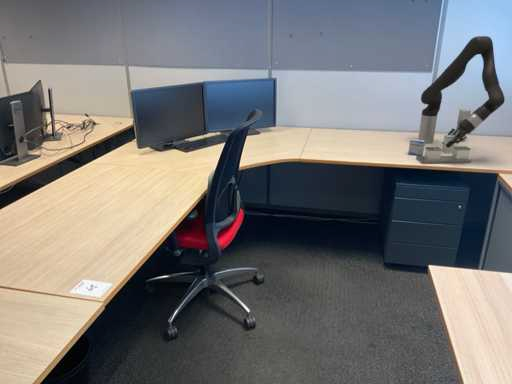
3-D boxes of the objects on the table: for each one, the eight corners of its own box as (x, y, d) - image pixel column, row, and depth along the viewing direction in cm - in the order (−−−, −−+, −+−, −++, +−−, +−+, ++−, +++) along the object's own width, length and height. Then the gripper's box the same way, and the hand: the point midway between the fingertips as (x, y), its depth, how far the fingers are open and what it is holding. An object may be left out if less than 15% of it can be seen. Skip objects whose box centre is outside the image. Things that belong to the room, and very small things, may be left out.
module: (441, 151, 238) (444, 135, 235) (449, 151, 238) (452, 135, 235) (445, 153, 234) (447, 137, 231) (453, 153, 234) (456, 136, 231)
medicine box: (407, 154, 250) (409, 140, 246) (409, 152, 253) (411, 138, 250) (422, 156, 246) (424, 141, 243) (423, 154, 250) (425, 139, 247)
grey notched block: (416, 158, 242) (417, 146, 239) (462, 158, 243) (465, 145, 240) (422, 163, 234) (424, 150, 231) (470, 163, 234) (473, 149, 232)
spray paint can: (464, 139, 279) (469, 108, 272) (466, 142, 273) (471, 110, 266) (453, 138, 281) (458, 108, 273) (455, 141, 275) (460, 110, 267)
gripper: (460, 115, 236) (435, 137, 240) (473, 121, 223) (446, 144, 227) (467, 125, 238) (443, 146, 242) (481, 131, 225) (454, 153, 229)
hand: (445, 145), depth 235 cm, fingers closed on module, 4 cm apart
